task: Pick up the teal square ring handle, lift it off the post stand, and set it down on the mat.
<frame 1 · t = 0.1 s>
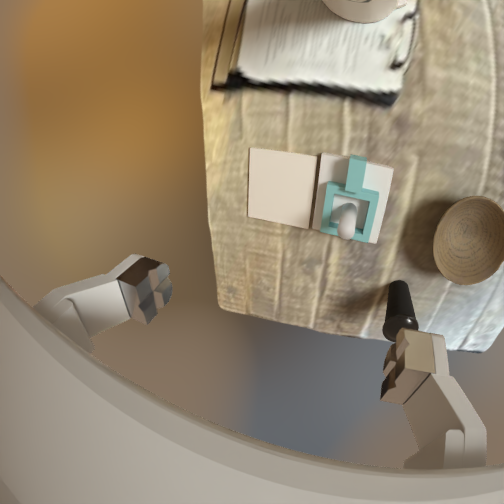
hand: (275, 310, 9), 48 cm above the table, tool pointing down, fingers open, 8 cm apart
teal square ring handle: (349, 209, 52), point 2 cm above the table, touching post stand
post stand: (350, 206, 53), on the table
drinking cup: (398, 288, 58), on the table
mat: (280, 187, 57), on the table
bowl: (463, 226, 45), on the table
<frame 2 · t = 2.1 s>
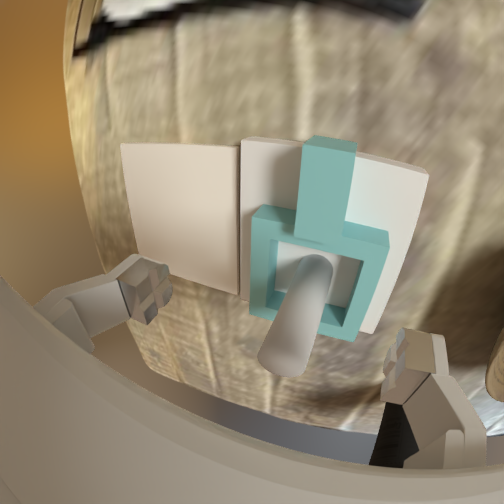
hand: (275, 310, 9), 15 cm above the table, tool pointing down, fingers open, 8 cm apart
teal square ring handle: (316, 269, 23), point 2 cm above the table, touching post stand
post stand: (320, 256, 25), on the table
drinking cup: (405, 386, 30), on the table
mat: (179, 216, 29), on the table
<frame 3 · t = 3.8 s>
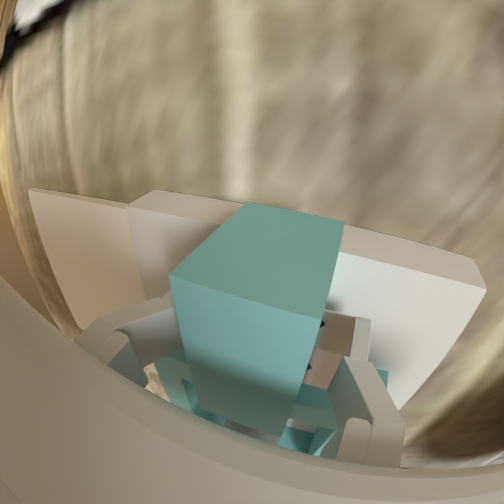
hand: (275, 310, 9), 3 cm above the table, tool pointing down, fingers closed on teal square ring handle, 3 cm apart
teal square ring handle: (268, 396, 14), point 2 cm above the table, touching gripper, post stand
post stand: (279, 370, 16), on the table
mat: (97, 288, 19), on the table
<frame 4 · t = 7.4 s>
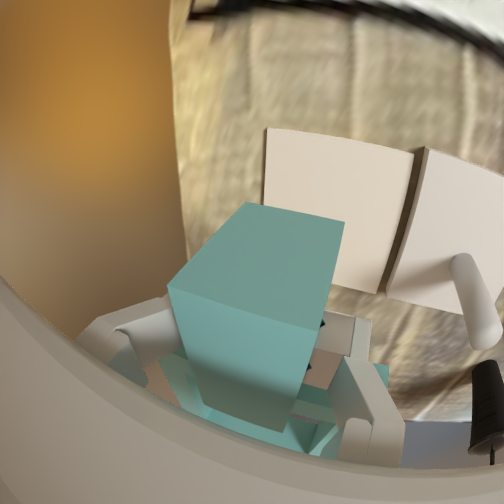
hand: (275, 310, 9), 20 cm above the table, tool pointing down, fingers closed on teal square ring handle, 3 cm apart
teal square ring handle: (271, 388, 14), point 18 cm above the table, touching gripper
post stand: (457, 255, 23), on the table
drinking cup: (484, 368, 28), on the table
mat: (330, 214, 27), on the table
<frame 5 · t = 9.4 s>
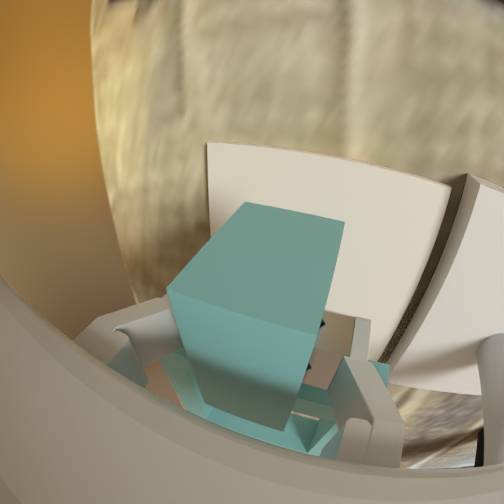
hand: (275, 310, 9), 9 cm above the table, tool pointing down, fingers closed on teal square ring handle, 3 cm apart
teal square ring handle: (272, 386, 14), point 7 cm above the table, touching gripper
post stand: (487, 328, 14), on the table
drinking cup: (493, 427, 19), on the table
mat: (310, 274, 18), on the table
when the fingers open (3 cm above the table, at t = 11.1 s): teal square ring handle stays where it is, resting on mat.
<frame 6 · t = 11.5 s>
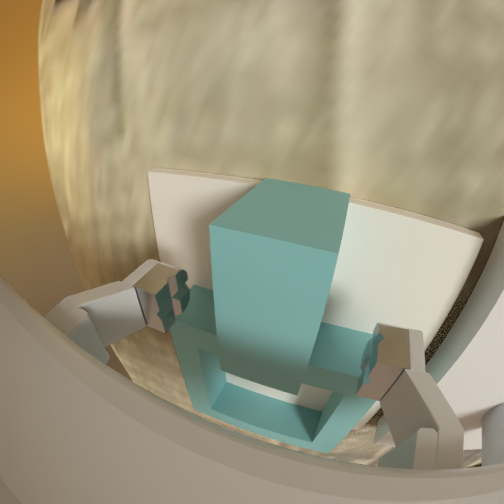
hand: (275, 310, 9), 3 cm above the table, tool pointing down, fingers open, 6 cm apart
teal square ring handle: (278, 371, 15), point 1 cm above the table, touching mat
post stand: (498, 387, 10), on the table
mat: (286, 335, 14), on the table
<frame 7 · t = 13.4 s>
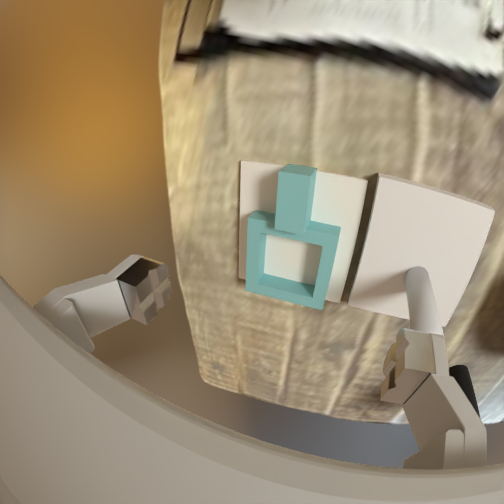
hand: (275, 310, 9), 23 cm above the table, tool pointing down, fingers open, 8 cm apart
teal square ring handle: (292, 256, 33), point 1 cm above the table, touching mat
post stand: (414, 268, 29), on the table
drinking cup: (455, 373, 33), on the table
mat: (296, 234, 32), on the table
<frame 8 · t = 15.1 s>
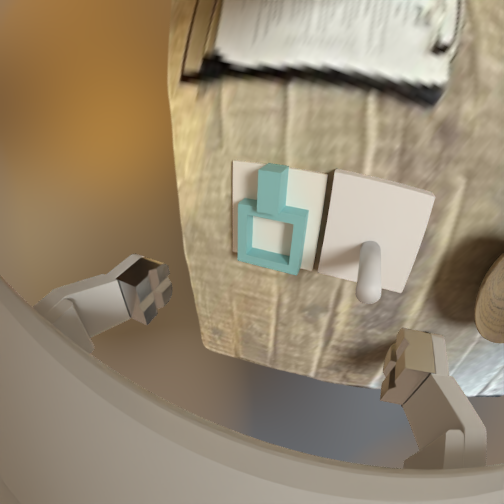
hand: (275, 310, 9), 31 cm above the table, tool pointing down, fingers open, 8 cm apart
teal square ring handle: (273, 233, 43), point 1 cm above the table, touching mat
post stand: (370, 243, 38), on the table
mat: (275, 215, 42), on the table
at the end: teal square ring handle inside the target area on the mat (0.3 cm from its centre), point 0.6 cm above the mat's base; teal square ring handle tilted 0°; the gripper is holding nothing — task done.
